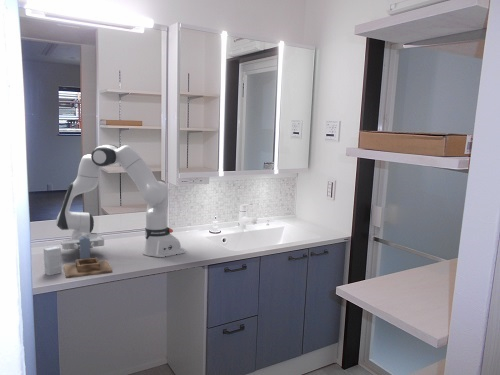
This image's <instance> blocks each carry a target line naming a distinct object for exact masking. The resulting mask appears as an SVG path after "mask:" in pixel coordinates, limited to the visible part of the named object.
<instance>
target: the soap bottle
mask: <svg viewBox="0 0 500 375" xmlns="http://www.w3.org/2000/svg"><path fill="white" fill-rule="evenodd" d="M79 245H80V249H79V259H88V258H91V248H90V238H89V237H87V235H86V234H82V237H79Z"/></svg>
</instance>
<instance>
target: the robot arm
mask: <svg viewBox="0 0 500 375" xmlns="http://www.w3.org/2000/svg"><path fill="white" fill-rule="evenodd" d="M115 164H118V165H120V167H121V168H122V169H123V170H124V171H125V173H126V174H127V175H128V177H129V178H131V180H132V181H133V183H134V184H135V186H136V187H137V189H138V191H139V192H140V194H141V196H142V198H143V200H144V202H145V203H146V204H147V206H146V212H145V230H144V237H145V242H144V243H145V244H144V248H143V255H145V256H147V257H148V256H149V257H156V258H164V257H165V256H166V257H171V256H177V255H180V254H181V255H182V254H185V253H184V252H186V250H185V248H183V247H182V246H181V242H180V239H178V238H177V237H176V236H175V235H173V234H172V233H173V231H174V230H173V228H171V227H168V223H167V221H168V204H169V194H170V192H169V191H170V190H169V186H168V185H167V184H166V183H165V182H164V181H160V180H157V178H156V177H155V175H154V173H153V171H152V169H151V168H150V166H149V165H148V164H147V163H146V161H145V160H144V159H143V158H142V156H141V155H140V154H139V153H138V152H137V151H136V150H135V149H134V148H133V147H131V146H130V145H122V146H120V147H118V146H116V145H115V144H103V145H99V146H96V147H95V148H94V149H93V150H92V152H91V153H90V154H85V155H83V156H82V157H81V160H80V162H79V165H78V169H77V176H76V178H75V180H74V181H72V182H71V183H70V184H69V185H68V187H67V190H66V192H65V195H64V198H63V201H62V205H61V208H60V211H59V213H58V215H57V217H56V220H55V221H56V222H55V223H56V226H57V228H59V229H60V230H61V231H68V230H71V231H72V233H71V238H70V239H64V240H62V241H61V242H60V244H61V245H62V246H61V247H62V249H61V250H64V251H65V250H66V251H68V250H75V249H76V250H80V245H79V237H82V234H86V235H87V237H89V238H90V249H92V248H96V247H104V246H105V238H104V237H103V236H102V235H100V232H99V233H98V232H93V230H94V226H95V224H94V223H95V221H94V220H95V219H94V217H93V215H92V214H91V213H90V212H84V211H82V212H81V211H71V210H70V209H71V205H72V202H73V200H74V198H75V197H76V196H78V195H81V194H84V193H88V192H91V191H93V190H95V189H96V188H97V187H98V186H99V180H100V175H101V171H102V170H101V169H102V168H103V167H107V166H113V165H115ZM176 254H177V255H176Z"/></svg>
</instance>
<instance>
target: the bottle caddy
mask: <svg viewBox="0 0 500 375" xmlns="http://www.w3.org/2000/svg"><path fill="white" fill-rule="evenodd" d="M63 270H64V274H65V278H66V279H69V278H76V277H84V276H92V275H100V274H109V272H110V273H113V269H112V266H111V265H110V263H109V261H108V260H99V258H98V257H90V258H88V259H80V258H79V259H75V263H72V264H64V265H63Z"/></svg>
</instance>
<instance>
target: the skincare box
mask: <svg viewBox="0 0 500 375" xmlns="http://www.w3.org/2000/svg"><path fill="white" fill-rule="evenodd" d="M61 250H62V249H61V247H59V246H55V245H54V246H51V247H47V248H43V263H44V275H47V276H48V277H49V276H50V277H51V276H53V275H57V274H60V273H61V274H62V254H61Z"/></svg>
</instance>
